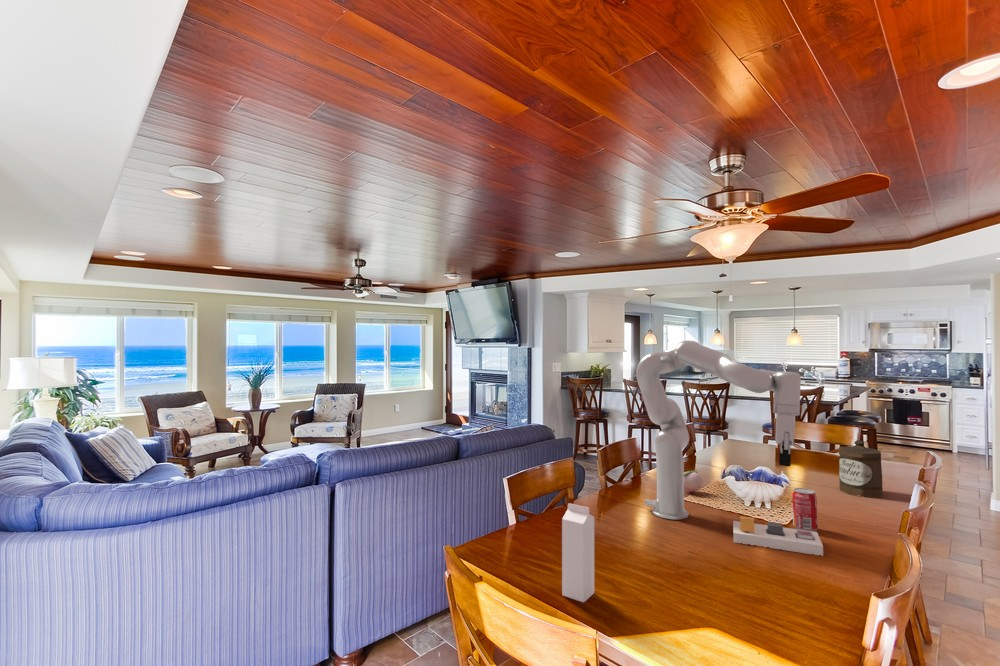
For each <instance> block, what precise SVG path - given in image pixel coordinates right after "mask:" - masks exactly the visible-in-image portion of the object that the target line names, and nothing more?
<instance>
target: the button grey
mask: <svg viewBox="0 0 1000 666" xmlns="http://www.w3.org/2000/svg"><path fill="white" fill-rule="evenodd" d="M796 537H797V538H799V539H806V540H813V535H812V533H811V532H807V531H800V530H796Z"/></svg>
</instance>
